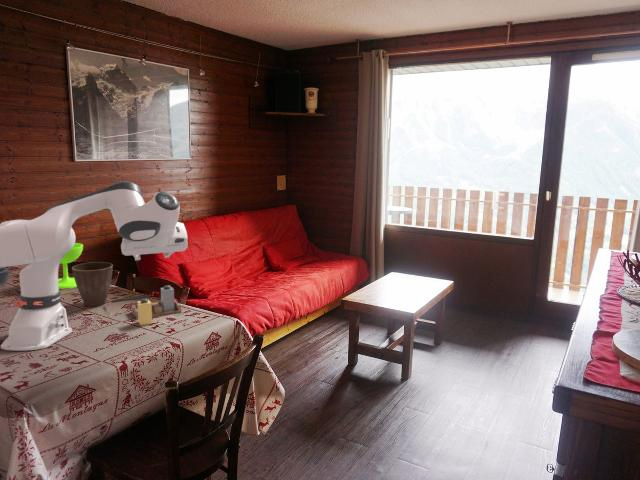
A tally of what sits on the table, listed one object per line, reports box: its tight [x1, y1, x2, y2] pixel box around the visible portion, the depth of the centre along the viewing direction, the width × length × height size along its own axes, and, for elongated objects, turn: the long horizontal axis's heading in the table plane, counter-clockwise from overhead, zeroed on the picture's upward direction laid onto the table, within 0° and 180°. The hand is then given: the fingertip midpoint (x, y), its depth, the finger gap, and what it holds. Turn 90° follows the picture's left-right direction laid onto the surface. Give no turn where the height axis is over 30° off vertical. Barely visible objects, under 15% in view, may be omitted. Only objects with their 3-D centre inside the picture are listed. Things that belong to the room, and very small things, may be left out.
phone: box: [111, 294, 151, 304], centre depth 197 cm, size 8×1×15 cm
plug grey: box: [160, 284, 175, 312], centre depth 183 cm, size 4×4×10 cm
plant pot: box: [71, 261, 114, 308], centre depth 192 cm, size 15×15×16 cm
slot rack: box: [131, 298, 182, 321], centre depth 182 cm, size 9×16×4 cm, turn 123°
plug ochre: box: [136, 298, 153, 326], centre depth 170 cm, size 4×4×10 cm
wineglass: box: [58, 242, 84, 290], centre depth 217 cm, size 16×16×18 cm
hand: (151, 257), depth 156 cm, fingers open, 8 cm apart
